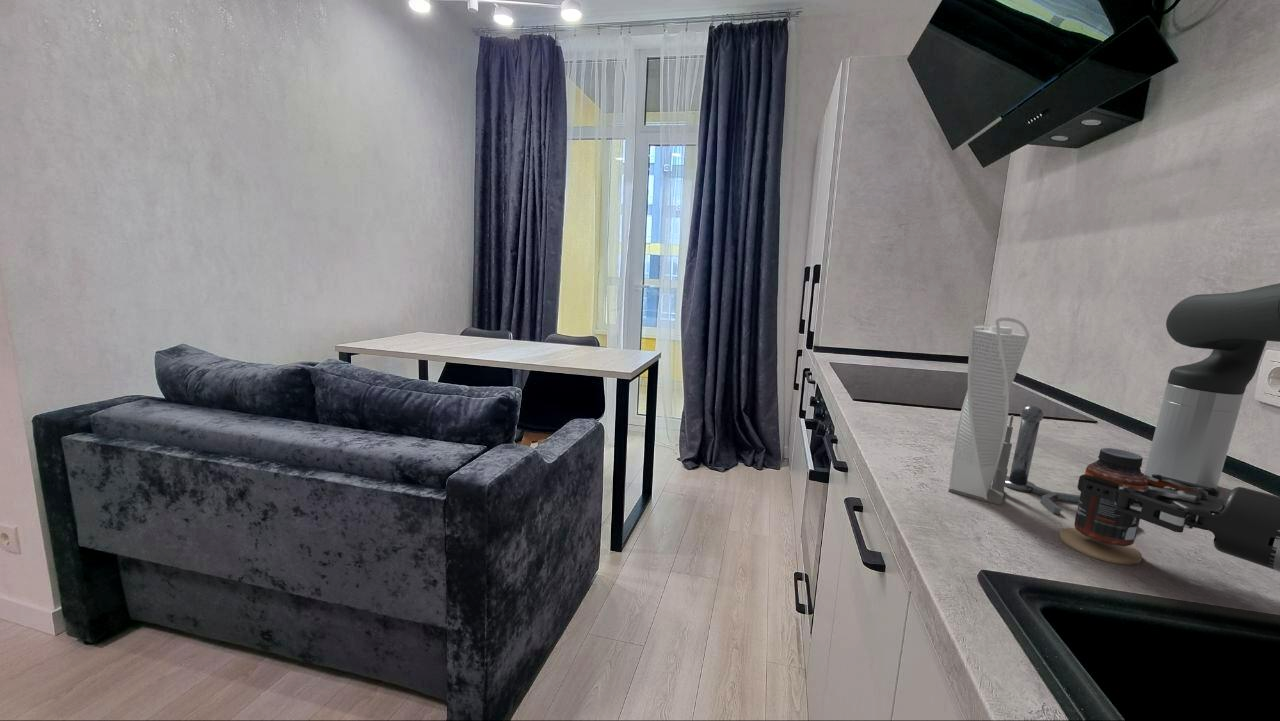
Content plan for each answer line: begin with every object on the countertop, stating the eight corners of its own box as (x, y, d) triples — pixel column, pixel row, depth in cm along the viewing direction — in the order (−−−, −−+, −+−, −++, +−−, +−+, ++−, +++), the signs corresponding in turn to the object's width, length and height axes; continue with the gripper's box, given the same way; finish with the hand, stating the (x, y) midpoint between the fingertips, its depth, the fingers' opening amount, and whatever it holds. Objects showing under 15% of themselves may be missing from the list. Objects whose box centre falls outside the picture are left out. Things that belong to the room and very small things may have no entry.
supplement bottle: (1146, 551, 64) (1168, 464, 62) (1090, 544, 65) (1110, 458, 63) (1113, 528, 70) (1132, 447, 68) (1063, 522, 71) (1080, 442, 69)
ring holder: (1009, 477, 91) (1025, 400, 88) (1143, 522, 76) (1167, 431, 74) (979, 486, 86) (995, 405, 83) (1117, 537, 71) (1141, 440, 68)
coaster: (1074, 527, 73) (1075, 523, 73) (1150, 555, 67) (1151, 551, 66) (1048, 539, 69) (1049, 535, 69) (1127, 571, 62) (1128, 566, 62)
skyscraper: (1000, 508, 78) (1039, 321, 73) (939, 491, 82) (971, 314, 77) (1003, 491, 84) (1039, 318, 79) (946, 476, 89) (976, 312, 84)
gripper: (1313, 491, 57) (1116, 443, 71) (1286, 517, 50) (1072, 457, 64) (1294, 553, 59) (1105, 494, 73) (1264, 588, 51) (1060, 515, 65)
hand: (1090, 477), depth 68 cm, fingers closed on supplement bottle, 6 cm apart
